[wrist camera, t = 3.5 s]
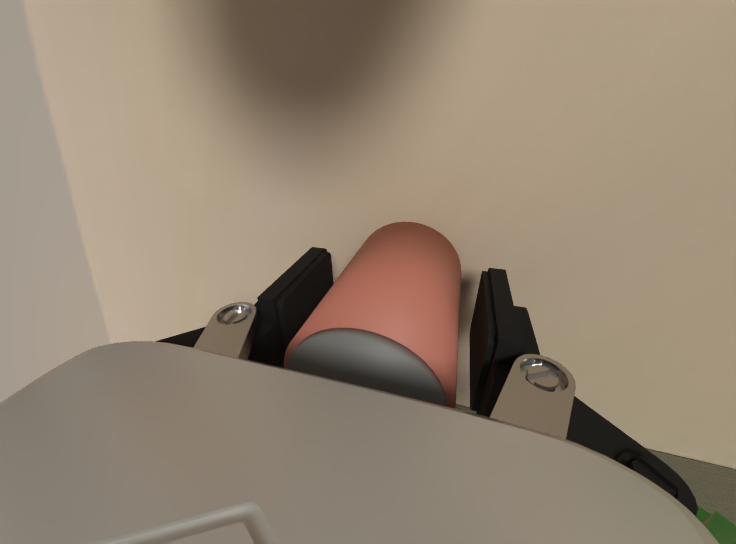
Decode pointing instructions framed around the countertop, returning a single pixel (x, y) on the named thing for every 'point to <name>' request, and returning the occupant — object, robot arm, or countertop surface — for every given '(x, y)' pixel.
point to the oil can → (389, 318)
